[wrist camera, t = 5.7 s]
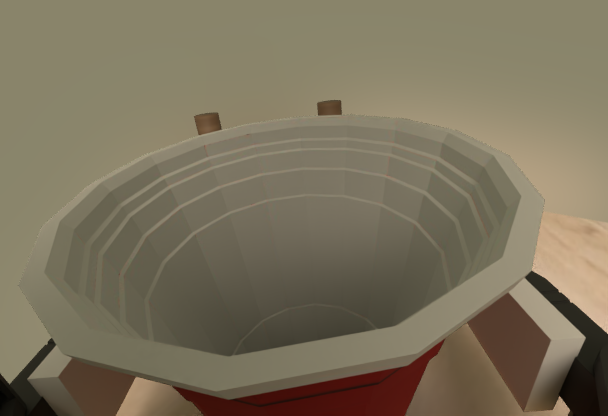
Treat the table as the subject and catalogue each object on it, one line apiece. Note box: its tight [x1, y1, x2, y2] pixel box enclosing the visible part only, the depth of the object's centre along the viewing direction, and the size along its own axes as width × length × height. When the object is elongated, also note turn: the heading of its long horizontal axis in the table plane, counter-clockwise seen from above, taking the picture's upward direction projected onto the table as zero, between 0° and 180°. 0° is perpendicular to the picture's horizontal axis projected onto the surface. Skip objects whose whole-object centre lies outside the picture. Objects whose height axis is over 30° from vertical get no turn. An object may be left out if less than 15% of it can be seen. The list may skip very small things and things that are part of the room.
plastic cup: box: [19, 115, 545, 416], centre depth 10 cm, size 11×11×12 cm
